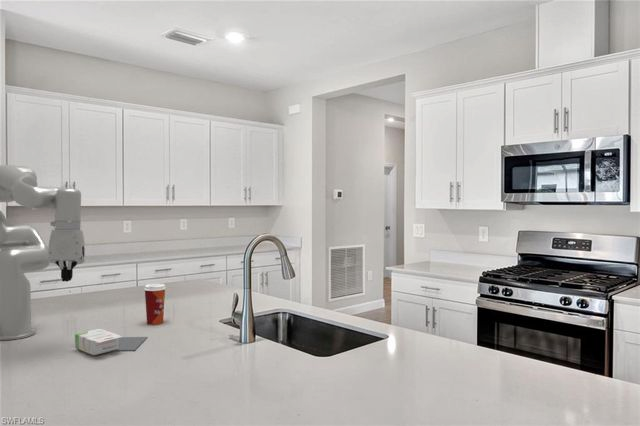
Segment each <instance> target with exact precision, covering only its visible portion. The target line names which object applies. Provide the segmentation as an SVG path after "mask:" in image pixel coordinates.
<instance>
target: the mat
mask: <svg viewBox="0 0 640 426" xmlns="http://www.w3.org/2000/svg"><path fill="white" fill-rule="evenodd" d="M147 339H148V336H122V337H121V338H118V349H116V350H113V351H112V352H136V351H137V350H138V349H139V348H140V346H141V345H142V344H143V343H144V342H145V341H146V340H147Z"/></svg>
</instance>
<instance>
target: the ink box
mask: <svg viewBox="0 0 640 426" xmlns="http://www.w3.org/2000/svg"><path fill="white" fill-rule="evenodd" d="M121 337H123V336H122V335H121V334H120V335H119V334H118V333H117V334H116V333H114V332H112V331H108V330H105V329H102V328H97V329H91V330H87V331H83V332H78V333H75V334H74V343H75V344H74V345H75V346H74V347H75V349H77V350H80V351H82V352H85V353H88V354H89V355H91V356H96V355H100V354H104V353H105V354H106V353H108V352H114V351H113V350H116V349H118V338H121Z"/></svg>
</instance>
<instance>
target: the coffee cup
mask: <svg viewBox="0 0 640 426" xmlns="http://www.w3.org/2000/svg"><path fill="white" fill-rule="evenodd" d="M166 289H167V288H166V284H164V283H149V284H146V285H145V286H144V289H143V290H144V299H145V313H146V324H147V325H151V326H155V325H161V324H163V322H164V315H165V313H164V312H165V298H166Z"/></svg>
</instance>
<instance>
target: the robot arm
mask: <svg viewBox="0 0 640 426" xmlns="http://www.w3.org/2000/svg"><path fill="white" fill-rule="evenodd" d="M37 180H38V176H37V174H36V172H35V170H33V169H32V168H31V167H29V166H24V165H23V166H22V165H13V164H12V165H11V164H1V165H0V203H12V202H15V203H16V204H18V205H19V206H22V207H23V208H26V209H30V210H36V211H40V210H51V211H52V210H54V220H53V221H51V222H50V227H53V229H51V232H50V236H49V241H48V247H47V245H46V243H45V242H44V240H43V238H42V237H41V235H40V233H39V231H38V230H37V228H36V227H35V226H33V224H30V223H26V222H11V221H9V220H8V218H6V216H5V214H4V213H3V212H2V210H0V341H9V340H18V339H19V340H21V339H25V338H28V337H31V336H33V335H35V334H36V333H37V328H35V327H32V306H31V305H32V297H31V296H32V295H31V294H32V291H31V283H30V280H29V279H28V278H27V276H26V275H25V274H24V273H28V272H35V271H41V270H44V269H46V268H48V267H49V265H50V264H53V265H56V266H58V268H59V270H60V278H61V282H70V281H72V279H73V272H74V271H73V269H74V268H76V266H77V265H80V264H81V265H82V264H84V263H85V262H86V261H85V257H86V256H85V255H86V254H85V253H86V250H85V249H86V246H85V245H86V244H85V236H84V231H83V230H82V229H81V221H82V217H81V216H82V211H81V210H82V192H81V190H79V189H77V188H65V187H55V186H54V187H53V186H38V181H37Z"/></svg>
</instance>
